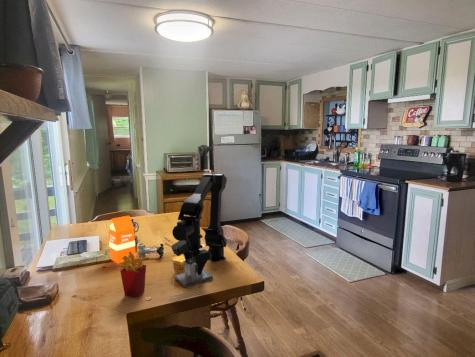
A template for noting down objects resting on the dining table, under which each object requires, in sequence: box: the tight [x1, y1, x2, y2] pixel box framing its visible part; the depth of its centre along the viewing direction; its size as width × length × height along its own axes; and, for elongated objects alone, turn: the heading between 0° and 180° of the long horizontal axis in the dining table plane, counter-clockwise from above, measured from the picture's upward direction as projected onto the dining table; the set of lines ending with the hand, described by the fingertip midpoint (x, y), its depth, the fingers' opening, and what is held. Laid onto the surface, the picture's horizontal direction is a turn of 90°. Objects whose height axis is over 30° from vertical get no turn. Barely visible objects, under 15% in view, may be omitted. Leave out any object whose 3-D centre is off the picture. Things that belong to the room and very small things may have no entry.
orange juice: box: [108, 215, 137, 264], centre depth 140 cm, size 8×9×20 cm
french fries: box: [117, 252, 147, 299], centre depth 107 cm, size 9×8×15 cm
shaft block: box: [174, 268, 214, 288], centre depth 120 cm, size 12×9×6 cm
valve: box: [136, 242, 165, 259], centre depth 142 cm, size 7×7×12 cm
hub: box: [184, 257, 203, 279], centre depth 120 cm, size 7×7×6 cm
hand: (193, 270), depth 120 cm, fingers open, 9 cm apart
